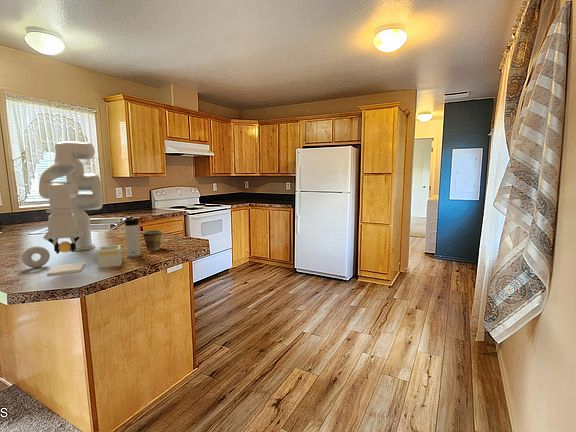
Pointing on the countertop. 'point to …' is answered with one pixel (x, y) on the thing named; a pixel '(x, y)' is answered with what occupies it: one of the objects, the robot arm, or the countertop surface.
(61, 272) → the beige square board
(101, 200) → the robot arm
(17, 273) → the countertop surface
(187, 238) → the countertop surface
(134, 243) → the travel mug
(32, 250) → the donut
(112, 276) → the countertop surface
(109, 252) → the cream lidded box
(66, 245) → the ochre ball
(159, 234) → the ceramic cup
